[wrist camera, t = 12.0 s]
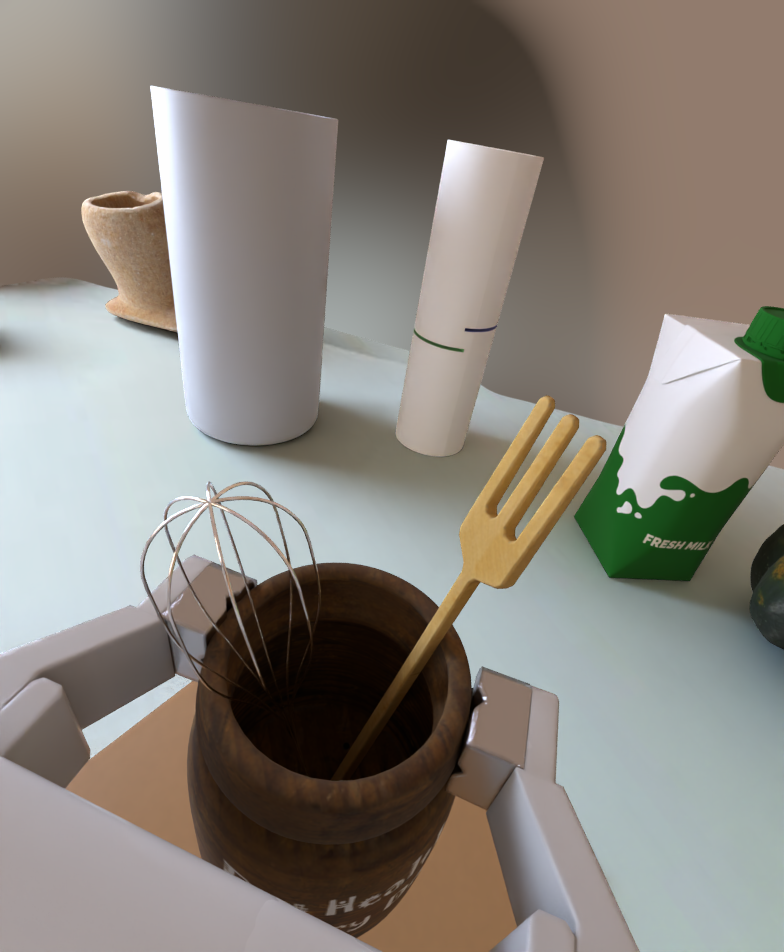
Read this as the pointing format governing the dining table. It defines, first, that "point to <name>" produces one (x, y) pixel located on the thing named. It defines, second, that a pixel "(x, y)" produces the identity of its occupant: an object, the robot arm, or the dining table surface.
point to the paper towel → (403, 930)
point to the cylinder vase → (247, 259)
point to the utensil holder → (348, 701)
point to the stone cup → (134, 254)
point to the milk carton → (689, 446)
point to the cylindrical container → (463, 291)
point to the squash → (769, 588)
